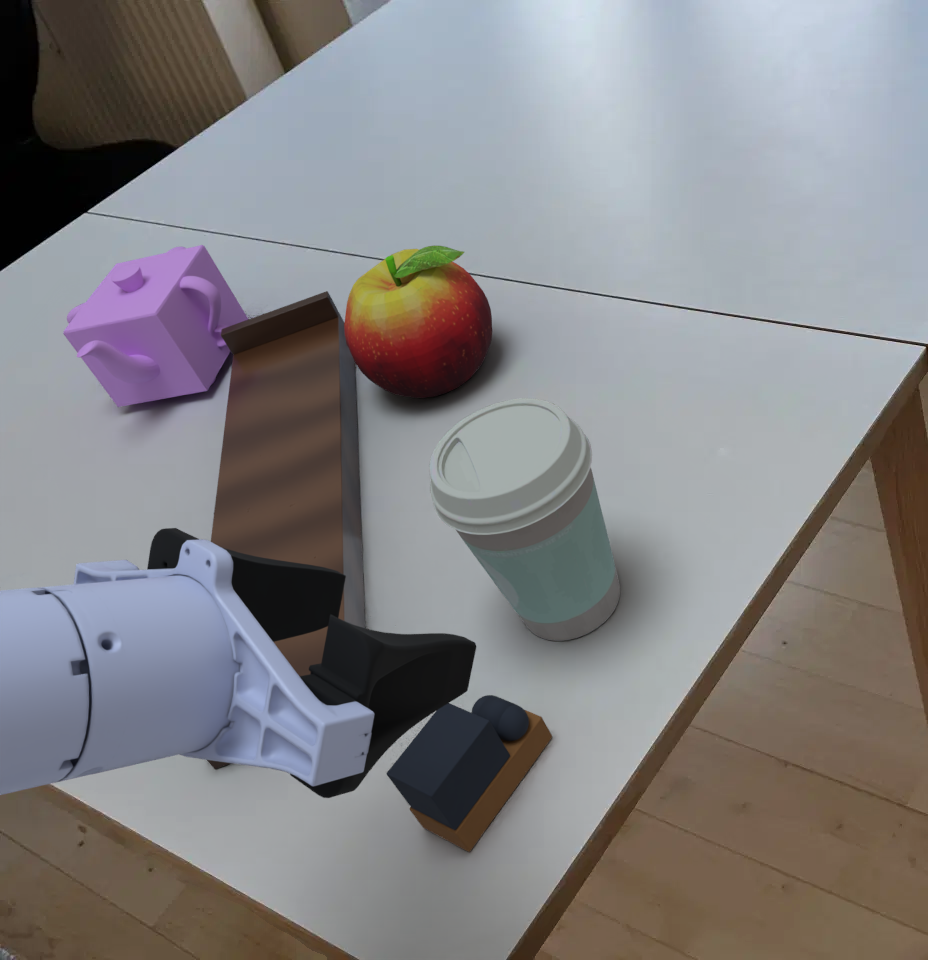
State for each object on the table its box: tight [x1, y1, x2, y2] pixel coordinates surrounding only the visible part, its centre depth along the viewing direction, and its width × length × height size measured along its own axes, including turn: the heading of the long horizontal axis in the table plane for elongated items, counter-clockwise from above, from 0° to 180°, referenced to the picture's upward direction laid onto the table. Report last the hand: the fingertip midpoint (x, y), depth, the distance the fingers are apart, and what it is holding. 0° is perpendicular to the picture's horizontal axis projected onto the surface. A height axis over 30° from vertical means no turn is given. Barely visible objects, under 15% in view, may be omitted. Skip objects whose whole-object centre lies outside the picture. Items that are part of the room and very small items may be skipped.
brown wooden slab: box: [206, 290, 366, 770], centre depth 74 cm, size 40×9×5 cm, turn 13°
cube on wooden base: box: [385, 694, 553, 853], centre depth 54 cm, size 7×3×5 cm, turn 147°
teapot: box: [62, 244, 249, 408], centre depth 91 cm, size 18×14×10 cm
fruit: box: [344, 245, 493, 399], centre depth 81 cm, size 11×11×10 cm
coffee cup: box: [428, 397, 621, 642], centre depth 59 cm, size 8×8×12 cm
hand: (398, 628), depth 43 cm, fingers open, 7 cm apart
